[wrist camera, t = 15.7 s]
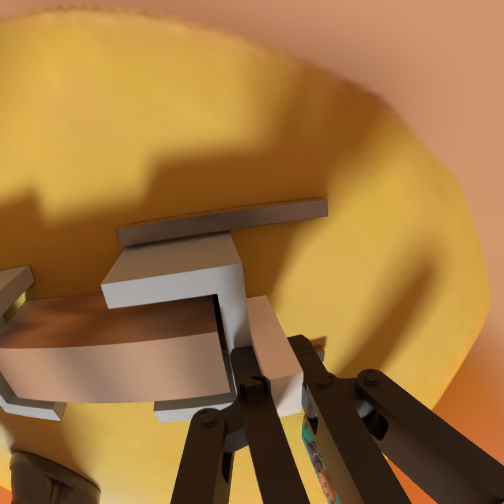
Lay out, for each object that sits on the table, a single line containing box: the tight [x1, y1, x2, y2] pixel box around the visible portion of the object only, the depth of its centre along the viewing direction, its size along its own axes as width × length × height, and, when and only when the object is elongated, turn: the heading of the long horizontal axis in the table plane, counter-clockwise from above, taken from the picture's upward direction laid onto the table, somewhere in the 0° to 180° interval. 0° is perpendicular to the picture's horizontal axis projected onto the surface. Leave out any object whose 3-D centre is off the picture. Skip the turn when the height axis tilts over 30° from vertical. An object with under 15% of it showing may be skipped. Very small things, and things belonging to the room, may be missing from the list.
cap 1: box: [0, 265, 67, 421], centre depth 14 cm, size 6×10×5 cm, turn 5°
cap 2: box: [101, 231, 252, 423], centre depth 15 cm, size 6×10×5 cm, turn 5°
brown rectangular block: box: [0, 291, 230, 403], centre depth 14 cm, size 14×4×6 cm, turn 95°
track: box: [117, 198, 328, 361], centre depth 18 cm, size 12×12×1 cm
